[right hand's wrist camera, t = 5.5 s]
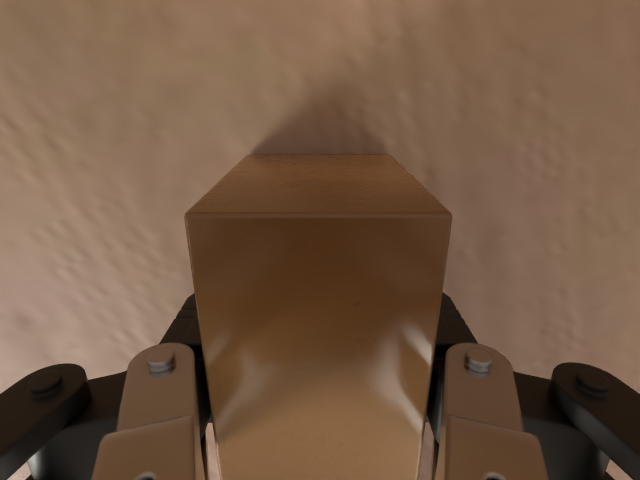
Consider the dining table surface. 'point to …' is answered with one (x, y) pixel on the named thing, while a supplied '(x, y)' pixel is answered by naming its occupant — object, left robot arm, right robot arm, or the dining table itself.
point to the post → (318, 315)
